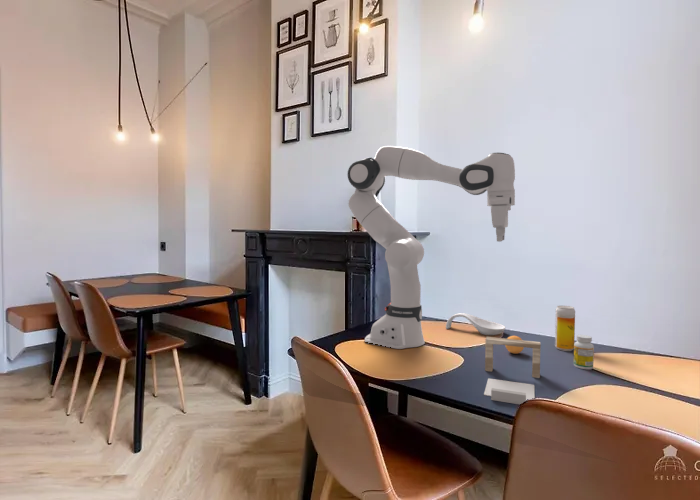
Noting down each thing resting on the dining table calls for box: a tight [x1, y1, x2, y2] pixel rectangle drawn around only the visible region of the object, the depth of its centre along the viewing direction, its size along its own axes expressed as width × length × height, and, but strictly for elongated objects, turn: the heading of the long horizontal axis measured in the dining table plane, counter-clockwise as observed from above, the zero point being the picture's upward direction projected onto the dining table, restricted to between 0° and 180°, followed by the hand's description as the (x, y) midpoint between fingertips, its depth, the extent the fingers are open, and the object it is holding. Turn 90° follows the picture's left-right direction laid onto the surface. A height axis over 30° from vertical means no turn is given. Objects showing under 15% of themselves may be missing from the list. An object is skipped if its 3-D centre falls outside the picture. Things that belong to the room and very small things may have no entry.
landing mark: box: [483, 377, 536, 400], centre depth 108 cm, size 12×12×1 cm
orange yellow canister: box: [554, 305, 576, 352], centre depth 143 cm, size 6×6×15 cm
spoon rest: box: [445, 312, 506, 336], centre depth 168 cm, size 24×12×7 cm, turn 59°
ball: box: [504, 335, 525, 355], centre depth 139 cm, size 6×6×6 cm
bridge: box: [484, 336, 542, 379], centre depth 121 cm, size 3×15×10 cm, turn 66°
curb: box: [490, 388, 526, 405], centre depth 101 cm, size 8×2×2 cm, turn 66°
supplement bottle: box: [573, 334, 595, 370], centre depth 125 cm, size 5×5×10 cm
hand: (500, 240), depth 140 cm, fingers open, 8 cm apart
